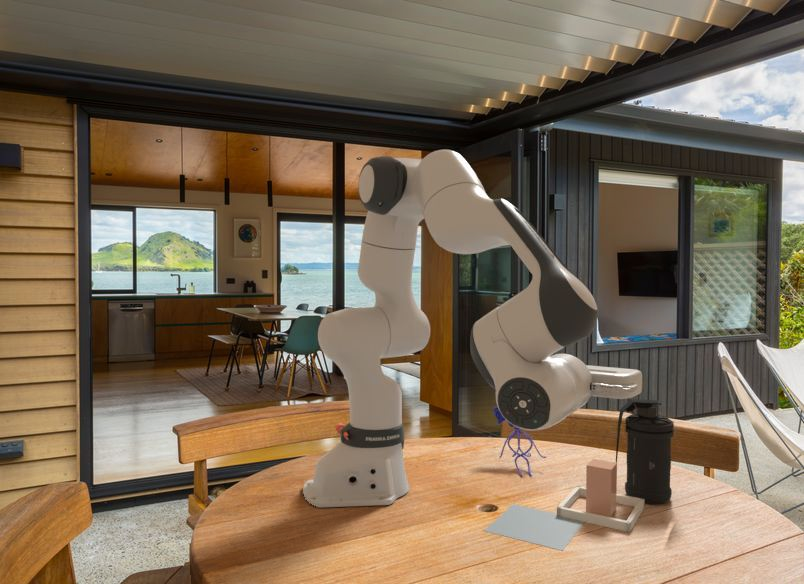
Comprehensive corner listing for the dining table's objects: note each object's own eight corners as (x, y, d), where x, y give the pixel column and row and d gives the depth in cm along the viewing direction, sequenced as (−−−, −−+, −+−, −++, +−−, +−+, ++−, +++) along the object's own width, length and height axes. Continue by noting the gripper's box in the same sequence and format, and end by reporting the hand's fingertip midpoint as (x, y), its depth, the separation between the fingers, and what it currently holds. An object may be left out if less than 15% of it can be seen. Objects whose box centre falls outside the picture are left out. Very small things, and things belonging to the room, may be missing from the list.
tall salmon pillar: (610, 523, 111) (611, 469, 111) (585, 517, 114) (586, 465, 113) (616, 514, 115) (617, 462, 115) (592, 509, 118) (592, 458, 117)
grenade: (676, 507, 120) (679, 407, 119) (618, 503, 122) (620, 404, 121) (666, 490, 129) (668, 397, 128) (612, 486, 131) (613, 395, 130)
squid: (489, 507, 145) (498, 462, 133) (473, 394, 172) (479, 349, 160) (548, 507, 145) (563, 462, 134) (523, 394, 172) (533, 349, 161)
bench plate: (562, 559, 99) (562, 550, 99) (483, 538, 106) (483, 530, 106) (585, 528, 111) (586, 520, 110) (513, 511, 118) (513, 503, 118)
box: (629, 540, 106) (630, 523, 105) (556, 523, 113) (556, 507, 112) (644, 514, 117) (644, 499, 116) (576, 500, 124) (576, 486, 123)
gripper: (633, 369, 86) (651, 357, 97) (498, 357, 97) (529, 347, 108) (632, 413, 86) (650, 396, 98) (498, 396, 97) (529, 382, 109)
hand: (586, 370), depth 103 cm, fingers open, 8 cm apart
